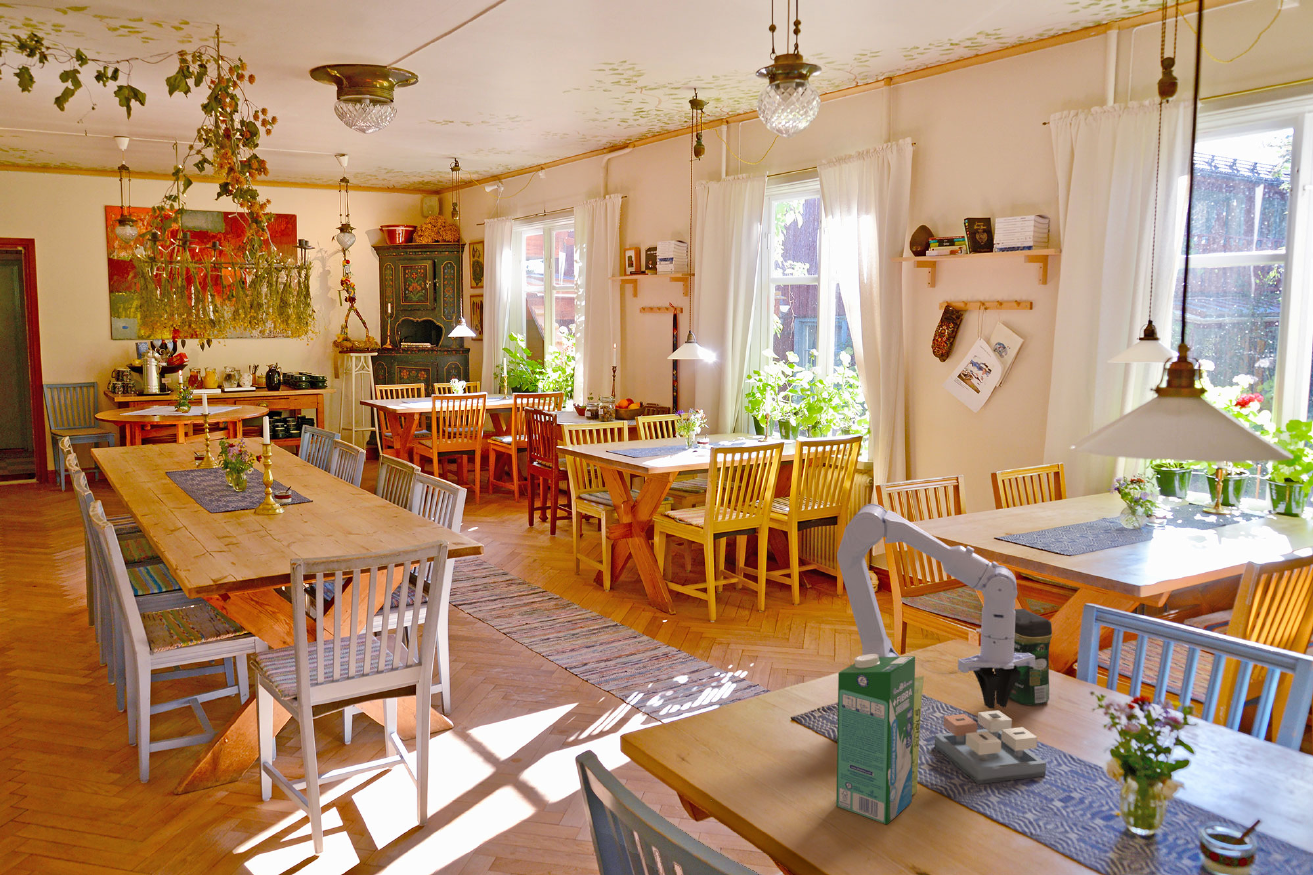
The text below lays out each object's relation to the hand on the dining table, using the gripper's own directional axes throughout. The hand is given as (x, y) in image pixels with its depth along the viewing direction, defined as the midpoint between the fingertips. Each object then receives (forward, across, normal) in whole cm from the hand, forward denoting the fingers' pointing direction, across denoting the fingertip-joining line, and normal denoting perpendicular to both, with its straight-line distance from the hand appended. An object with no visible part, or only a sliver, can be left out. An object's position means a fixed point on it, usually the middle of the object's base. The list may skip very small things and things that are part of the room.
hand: (995, 706), depth 167 cm
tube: (+9, -24, -10) cm, 27 cm away
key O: (+6, 0, 0) cm, 6 cm away
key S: (+6, -7, -8) cm, 12 cm away
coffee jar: (+9, +20, +20) cm, 30 cm away
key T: (+6, 0, -8) cm, 10 cm away
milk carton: (+9, -30, -13) cm, 34 cm away
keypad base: (+8, -4, -4) cm, 10 cm away
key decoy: (+6, -7, 0) cm, 9 cm away
